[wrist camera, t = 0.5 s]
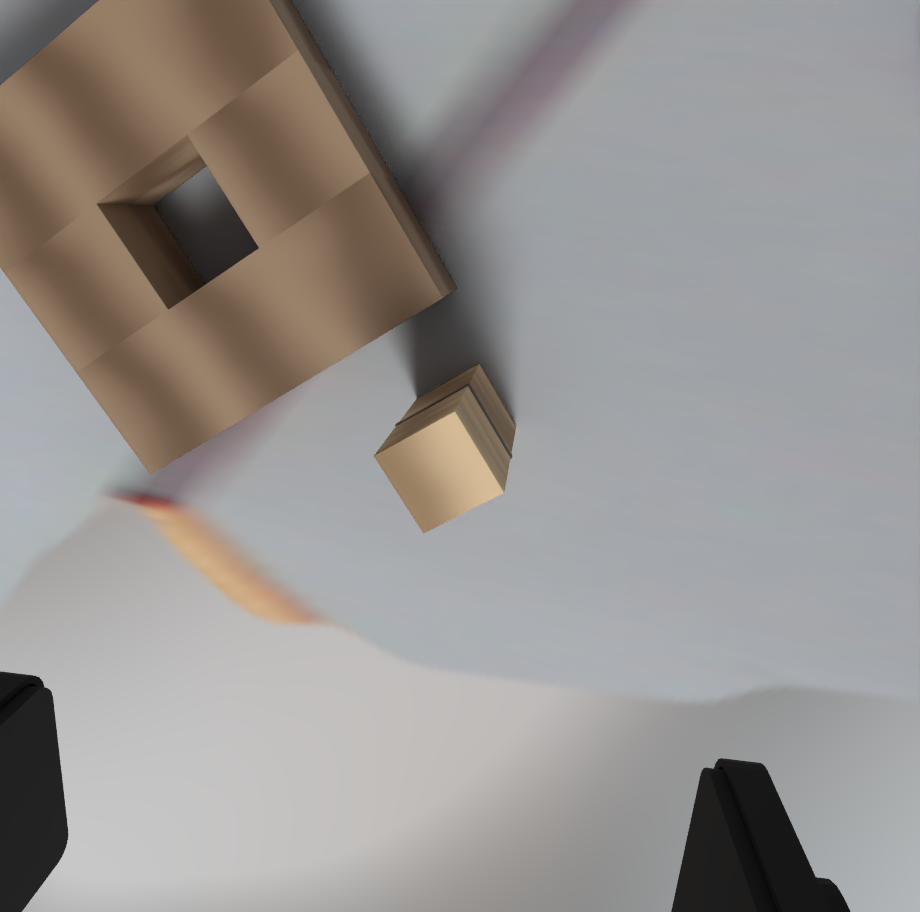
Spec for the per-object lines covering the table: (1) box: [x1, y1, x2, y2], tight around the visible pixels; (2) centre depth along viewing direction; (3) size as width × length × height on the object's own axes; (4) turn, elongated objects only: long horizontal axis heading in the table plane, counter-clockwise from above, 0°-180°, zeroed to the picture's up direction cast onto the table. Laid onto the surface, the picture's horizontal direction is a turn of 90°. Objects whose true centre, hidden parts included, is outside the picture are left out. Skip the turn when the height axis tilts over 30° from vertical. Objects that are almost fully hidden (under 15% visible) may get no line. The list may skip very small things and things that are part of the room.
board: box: [0, 0, 457, 475], centre depth 35 cm, size 18×18×5 cm
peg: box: [374, 364, 516, 533], centre depth 35 cm, size 4×4×10 cm
